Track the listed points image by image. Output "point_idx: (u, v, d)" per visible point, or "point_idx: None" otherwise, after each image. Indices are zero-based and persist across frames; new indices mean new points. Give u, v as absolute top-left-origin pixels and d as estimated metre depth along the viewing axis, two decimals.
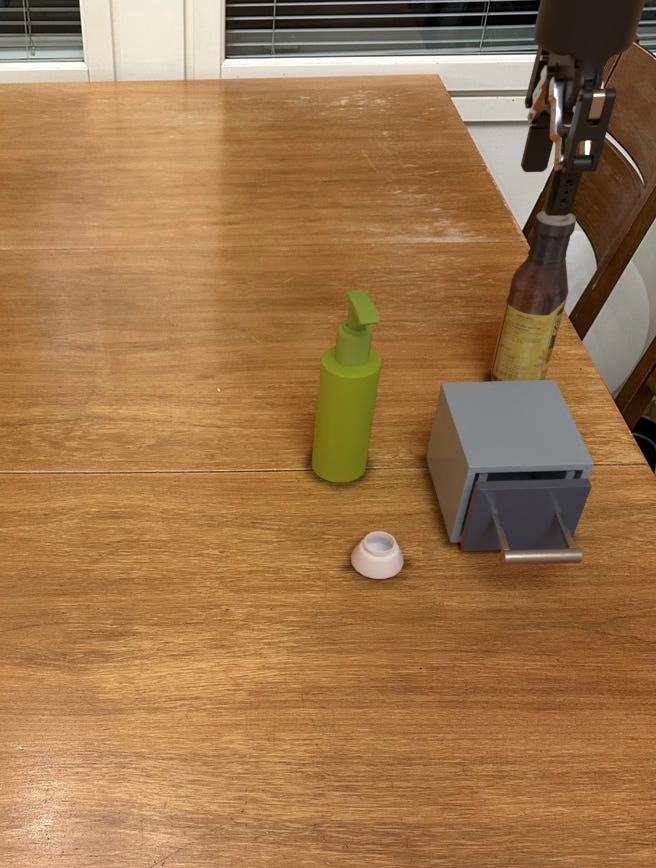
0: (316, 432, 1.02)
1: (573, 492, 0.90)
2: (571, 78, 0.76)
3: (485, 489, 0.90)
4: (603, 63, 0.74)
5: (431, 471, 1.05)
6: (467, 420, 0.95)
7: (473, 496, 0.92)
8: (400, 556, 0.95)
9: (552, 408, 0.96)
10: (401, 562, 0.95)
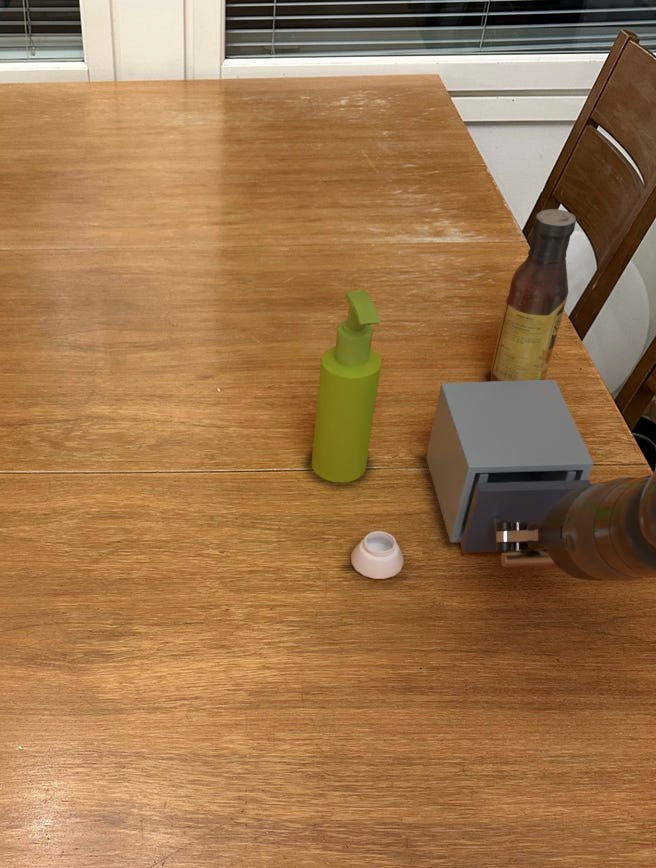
0: (316, 432, 1.02)
1: None
2: None
3: (486, 491, 0.90)
4: None
5: (431, 471, 1.05)
6: (467, 420, 0.95)
7: (473, 498, 0.91)
8: (400, 556, 0.95)
9: (552, 408, 0.96)
10: (401, 562, 0.95)
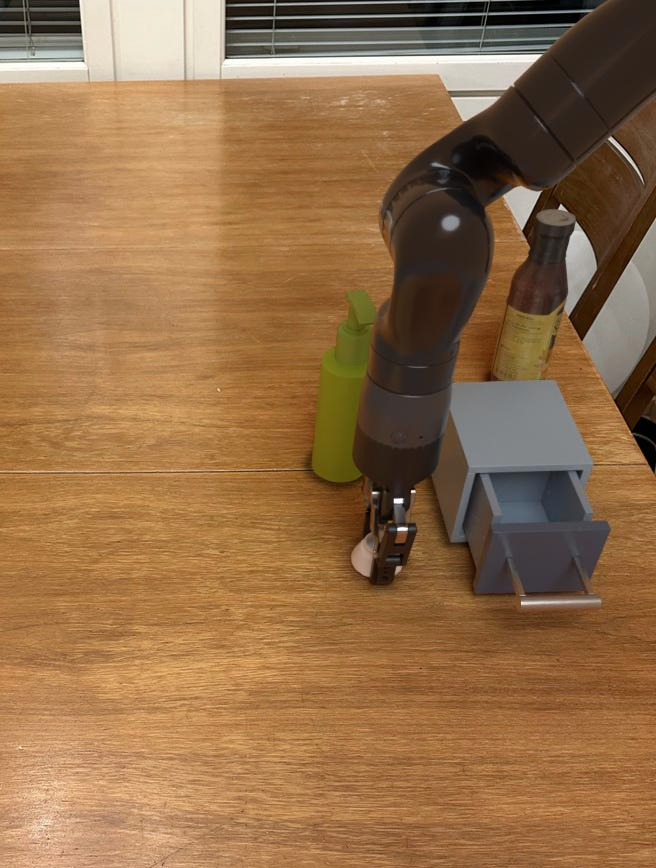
0: (316, 432, 1.02)
1: (592, 535, 0.86)
2: (384, 495, 0.86)
3: (500, 532, 0.86)
4: (409, 489, 0.85)
5: None
6: (467, 420, 0.95)
7: (487, 538, 0.88)
8: None
9: (552, 408, 0.96)
10: None
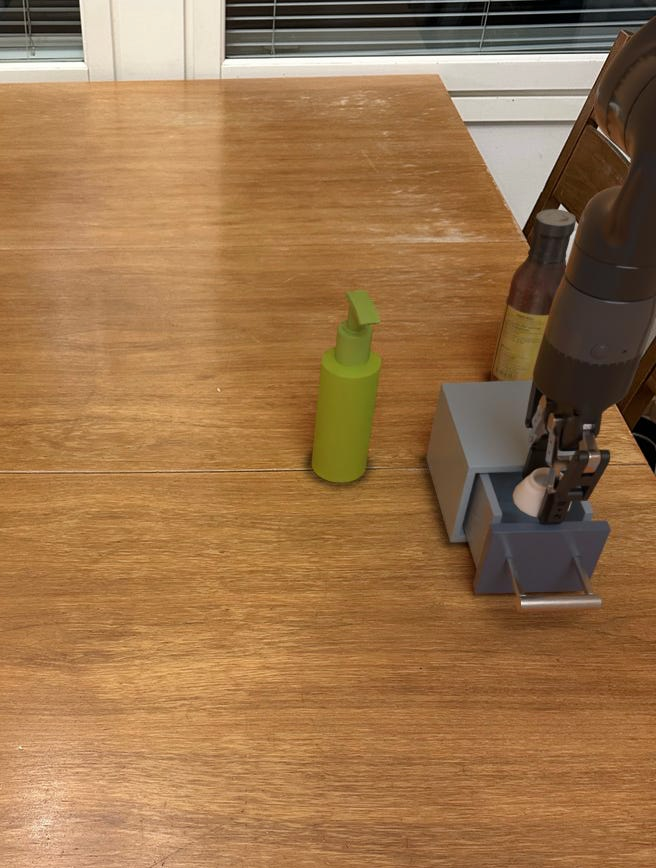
0: (316, 432, 1.02)
1: (592, 535, 0.86)
2: (570, 421, 0.79)
3: (500, 532, 0.86)
4: (601, 413, 0.77)
5: (431, 471, 1.05)
6: (467, 420, 0.95)
7: (487, 538, 0.88)
8: None
9: None
10: None
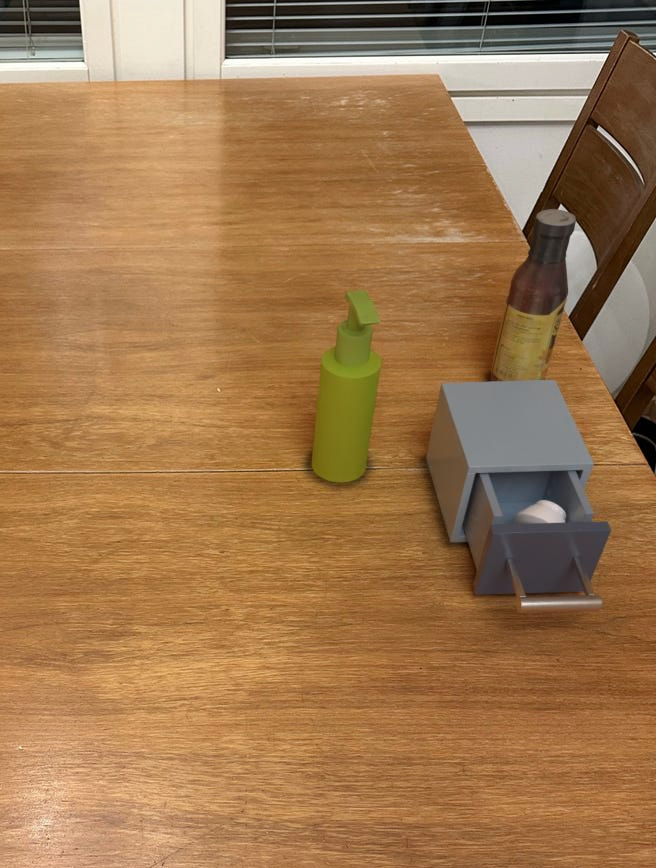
0: (316, 432, 1.02)
1: (592, 536, 0.86)
2: None
3: (500, 533, 0.86)
4: None
5: (431, 471, 1.05)
6: (467, 420, 0.95)
7: (487, 539, 0.88)
8: None
9: (552, 408, 0.96)
10: None
